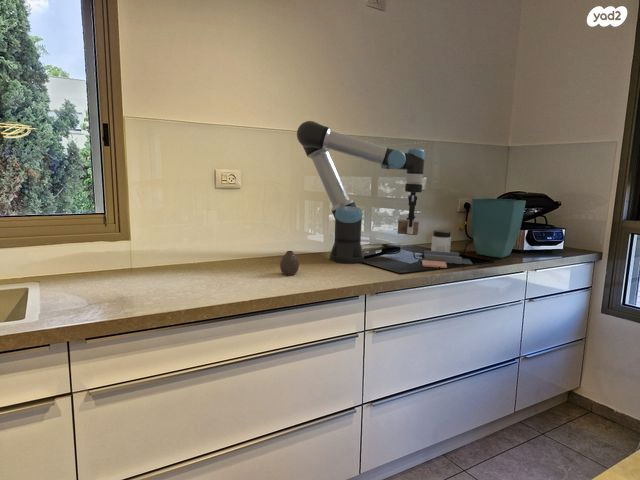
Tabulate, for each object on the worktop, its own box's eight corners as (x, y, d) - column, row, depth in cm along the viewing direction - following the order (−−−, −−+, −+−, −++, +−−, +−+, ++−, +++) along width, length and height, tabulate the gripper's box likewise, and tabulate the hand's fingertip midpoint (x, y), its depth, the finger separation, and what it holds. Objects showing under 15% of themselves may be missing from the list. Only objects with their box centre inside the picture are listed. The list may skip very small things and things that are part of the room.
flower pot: (520, 255, 212) (526, 200, 208) (507, 260, 197) (514, 201, 193) (481, 250, 225) (486, 197, 221) (466, 254, 210) (471, 198, 206)
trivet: (422, 266, 178) (422, 264, 178) (422, 261, 188) (422, 260, 187) (446, 268, 176) (447, 266, 176) (445, 263, 185) (445, 261, 185)
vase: (277, 272, 157) (278, 250, 155) (294, 271, 159) (295, 249, 158) (283, 277, 150) (283, 253, 149) (301, 275, 153) (301, 252, 152)
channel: (424, 261, 189) (424, 254, 188) (423, 256, 200) (424, 250, 200) (461, 264, 185) (461, 257, 185) (458, 259, 197) (459, 252, 197)
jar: (443, 257, 199) (445, 232, 198) (428, 254, 205) (429, 230, 203) (452, 255, 206) (454, 231, 204) (437, 253, 211) (439, 229, 210)
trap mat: (462, 264, 185) (462, 263, 185) (459, 259, 197) (459, 258, 197) (472, 264, 184) (472, 264, 184) (469, 259, 196) (469, 259, 196)
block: (397, 233, 193) (398, 220, 192) (399, 232, 199) (400, 219, 198) (417, 235, 190) (418, 222, 189) (418, 233, 197) (419, 220, 196)
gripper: (422, 184, 180) (418, 236, 184) (421, 183, 200) (417, 230, 203) (405, 183, 182) (401, 235, 185) (406, 182, 201) (402, 229, 205)
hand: (409, 232), depth 194 cm, fingers closed on block, 7 cm apart
